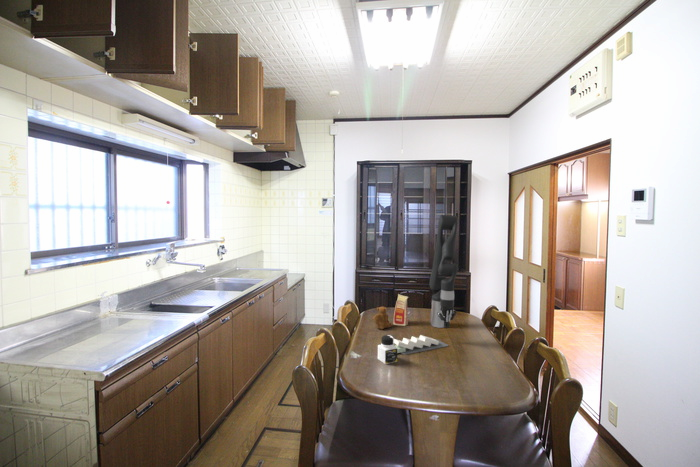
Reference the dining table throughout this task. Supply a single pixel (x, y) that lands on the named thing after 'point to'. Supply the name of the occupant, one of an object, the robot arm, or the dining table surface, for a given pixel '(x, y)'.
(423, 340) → the domino
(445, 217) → the robot arm
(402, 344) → the domino
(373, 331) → the dining table surface
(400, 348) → the domino
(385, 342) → the medicine bottle
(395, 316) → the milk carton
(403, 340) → the domino
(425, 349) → the runner mat
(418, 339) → the domino
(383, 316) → the stuffed squirrel
